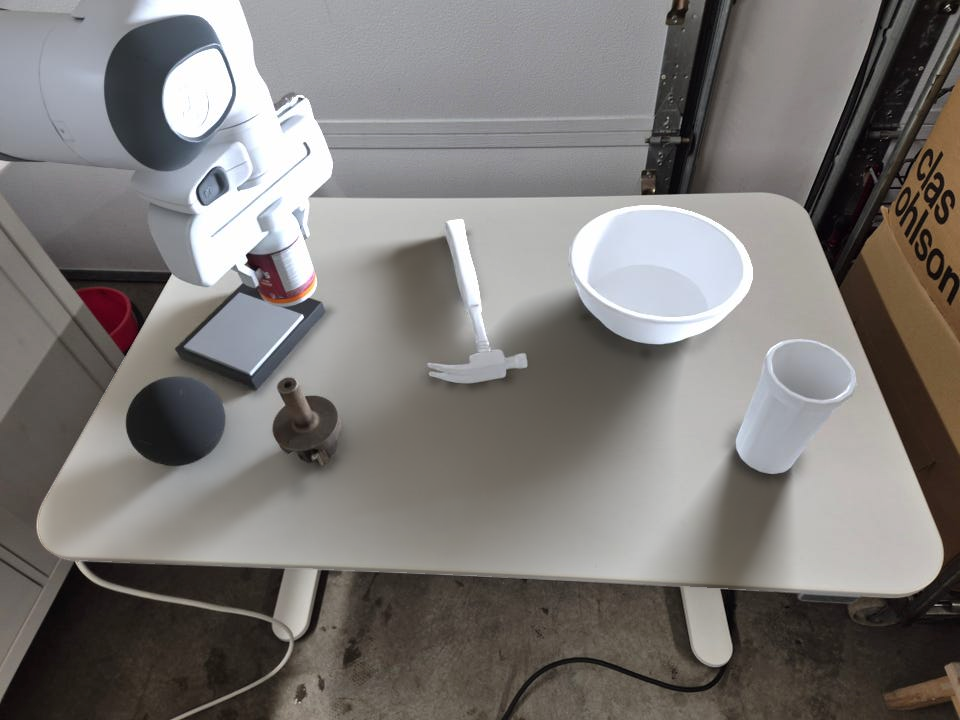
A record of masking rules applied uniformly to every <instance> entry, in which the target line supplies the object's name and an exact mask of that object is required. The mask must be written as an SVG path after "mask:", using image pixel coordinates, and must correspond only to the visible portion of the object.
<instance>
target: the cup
mask: <svg viewBox="0 0 960 720" xmlns="http://www.w3.org/2000/svg"><path fill="white" fill-rule="evenodd" d="M766 353H767V354H766V355H765V357H764V359H763V362H762V367H761V370H762V372H761V374H760V376H759V379H758V381H757V385H756V387H755V390H754V392H753V395H752V396H751V400H750V403H749V405H748V408H747V410H746V413H745V416H744V418H743V421H742V423H741V426H740V428H739V430H738V433H737V436H736V438H735V449H736V452H737V453H738V455H739V458H740V459H741V460H742V461H743V462H744V463H745V464H746V465H747V466H749V467H750V468H751V469H754V470H756V471H758V472H760V473H764V474H771V475H776V474H781V473H782V474H783V473H786V471H789V470H790V469H791V468H792V467H793V466H794V464H795V462H796V461H797V460H798V458H799V457H800V456H801V454H802V453H803V452H804V450H805V449H806V447H807V446H808V445H809V444H810V443H811V441H812V440H813V438H814V437H815V436H816V434H817V433H818V432H819V431H820V429H821V428H822V427H823V425H825V423H826V422H827V420H828V419H829V418H830V417H831V415H832V414H833V412H834V411H835V410H837V409H839V408H840V407H841V406H843V405H844V404H846V403H847V402H848V401H849V400H850V399H851V398H852V397H853V396H854V393H855V391H856V389H857V386H858V382H857V377H856V371H855V368H853V366H852V365H851V363H850V362H849V360H848V359H847V357H846V356H844V355H843V354H841V353H840V352H839V351H838V350H836V349H835V348H833V347H832V346H830V345H827V344H825V343H822V342H819V341H817V340H813V339H812V340H811V339H803V338H794V339H787V340H783V341H781V342H779V343H777V344H776V345H773V346H772V347H770V348H769V350H768V351H767V352H766Z"/></svg>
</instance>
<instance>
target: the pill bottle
mask: <svg viewBox="0 0 960 720" xmlns="http://www.w3.org/2000/svg"><path fill="white" fill-rule="evenodd" d="M258 221H259V223H260V226H261V228H262V231H263V232H268V231H269V232H268V234H267V236H265V237H264V238H263V239H262V240H261V241H260V242H259V243H258V244H257V245H256V246H255V247H253V248H252V249H251V250H250V251H249V252H248V253H247V254H246V258H247V260H248V261H247V262H246V263H250V264H252V265H256V266H259V267H261V269H262V272H263V273H262V275H264V276H265V279H264V280H263V281H262V282H261V283H260V284H259V285H258V286H257V288H258V290H259V292H260V295H261V296H262V298H263V299H264V300H265V301H266V302H267V303H269V304H271V305H274V306H277V307H287V306H292V305H296V304H298V303H301V302H303V301H304V300H306V299H307V298H311V296H312V295H313V294H314V292H315V291H316V288H317V284H318V282H317V281H318V280H317V279H318V278H317V275H316V273H315V269H314V265H313V263H312V260H311V257H310V253H309V251H308V249H307V245H306V242H305V240H304V239H303V236H302V233H301V230H300V227H299V224H298V222H297V220H296V218H295V217H294V216H293V215H292V214H290V215H289V209H288V206H287V204H286V201H285V198H284V196H281V197H280V198H279V199H278V200H277V201H276V202H275V203H273V204H272V205H271V206H270V207H269V208H268V209H267V210H266V211H264V212H263V213H262V214H261V215H260V216H259V217H258Z"/></svg>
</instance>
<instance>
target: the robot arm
mask: <svg viewBox="0 0 960 720" xmlns="http://www.w3.org/2000/svg"><path fill="white" fill-rule="evenodd" d="M250 31H251V30H250V28H249V26H248V22H247V19H246V16H245V13H244V10H243V8H242V5H241V3H240V0H80V1H79V2H78V4H77V5H76V7H74V9H73V10H72V11H71V12H70V13H69V12H52V11H51V12H50V11H29V10H11V9H6V8H3V7H2V8H1V7H0V161H2V162H10V163H54V164H55V163H56V164H64V165H65V164H66V165H74V166H85V167H93V168H94V167H95V168H103V169H115V170H125V171H134V172H133V174H132V176H131V177H130V185H131V188H132V190H133V192H134V193H135V195H136V196H137V197H138V198H140V199H142V200H144V201H145V202H148V203H149V205H148V207H147V212H146V220H147V221H146V222H147V226H148V228H149V232H150V234H151V236H152V238H153V241H154V244H155V245H156V247H157V250H158V252H159V254H160V256H161V258H162V260H163V261H164V263H165V266H167V268H168V271H169V272H170V273H171V274H172V275H173V276H174V277H175V278H177V279H179V280H180V281H182V282H184V283H186V284H187V283H188V284H190V285H194V286H197V287H202V288H210V287H212V286H214V285H215V284H216V283H217V282H218V281H219V280H220V279H221V278H222V277H223V276H224V275H225V274H227V273H228V272H229V271H230V270H232V271H234V272H236V273H237V274H238V277H239V278H240V281H241V282H242V283H244V284H245V285H247V286H249V287H252V288H256V287H257V286H258V285H259V284H260V283H261V282H262V281H263V280H264V279H265V276H264V275H262V273H263V272H262V269H261V267H259V266H256V265H252V264H250V263H246V262H247V261H248V260H247V258H246V254H247V253H248V252H249V251H250V250H251V249H252V248H253V247H255V246H256V245H257V244H258V243H259V242H260V241H261V240H262V239H263V238H264V237H265V236H267V234H268V232H269V231H268V232H263V231H262V228H261V226H260V223H259V221H258V217H259V216H260V215H261V214H262V213H263V212H264V211H266V210H267V209H268V208H269V207H270V206H271V205H272V204H273V203H275V202H276V201H277V200H278V199H279V198H280V197H281V196H284V198H285V201H286V204H287V206H288V209H289V215H290V214H292V215H293V216H294V217H295V218H296V220H297V222H298V224H299V227H300V230H301V233H302V236H303V239H304V241H305V240H307V238H309V237H310V230H309V227H308V217H309V211H310V210H309V209H310V202H309V199H308V198H309V197H310V196H312V195H313V194H314V193H315V192H316V191H317V190H318V189H319V188H321V187H322V185H324V184H325V183H326V182H327V181H328V180H329V179H330V178H331V177H332V174H333V173H332V172H333V167H334V162H333V158H332V155H331V153H330V150H329V147H328V143H327V142H326V139H325V137H324V135H323V132H322V130H321V128H320V126H319V124H318V122H317V121H316V120H315V118H314V114H313V110H312V106H311V104H310V101H309V99H308V98H306V97H305V96H304V95H303V94H301V93H295V92H293V91H291V92H288V93H286V94H284V95H283V96H282V97H281V99H279V100H278V101H277V102H275V103H273V100H272V97H271V94H270V91H269V89H268V85H267V84H266V82H265V81H264V79H263V78H262V76H261V74H260V73H259V71H258V69H257V67H256V64H255V63H256V62H255V57H254V43H253V38H252V35H251V32H250Z"/></svg>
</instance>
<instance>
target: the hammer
mask: <svg viewBox="0 0 960 720" xmlns="http://www.w3.org/2000/svg"><path fill="white" fill-rule="evenodd" d="M443 225H444V226H443V227H444V234H445V239H446V241H447V243H448V244H447V245H448V246H449V251H450V253H451V258H452V262H453V266H454V272H455V277H456V282H457V286H458V289H459V292H460V296H461V299H462V302H463V305H464V308H465V312H466V314H467V315H468V316H469V317H470V320H471V324H472V325H471V326H472V329H473V333H474V338H475V343H476V349H477V352H476V353H472V354H470V355H469V362H468V363H462V364H441V363H432V362H427V367H428V368H430V369H434V370H437V371H440V372H436V371H429V372H428V375H429V376H430V377H434V378H437V379H440V380H444V381H447V382H451V383H456V384H475V383H480V382H481V383H483V382H486V381H492V380H498V379H503V378H505V377H506V375H507V370H510V369H518V370H519V369H525V368H527V367H528V360H527V359H528V358H527V355H526V353H525V352H522V353H516V354H515V355H512V356H507V357H506V356H505V354H504V352H503V350H500V349H494V350H491V347H490V342H489V339H488V337H487V333H486V330H485V326H484V322H483V318H482V314H481V313H482V303H481V296H480V290H479V289H480V288H479V284H478V280H477V279H478V278H477V275H476V271H475V266H474V264H473V261H472V260H473V259H472V257H471V253H470V249H469V244H468V240H467V239H468V238H467V234H466V228H465V222H464V220H463V218H458V219H450V220H446V221H444V223H443Z"/></svg>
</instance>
